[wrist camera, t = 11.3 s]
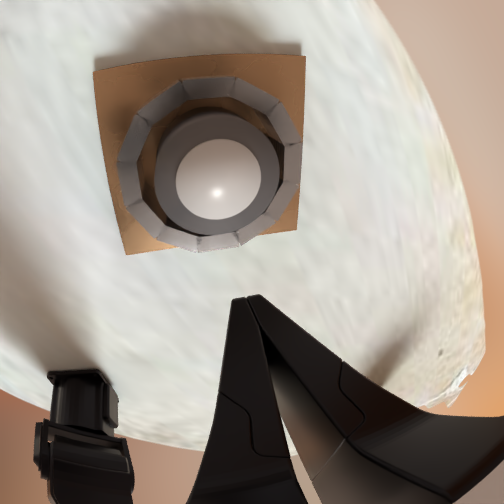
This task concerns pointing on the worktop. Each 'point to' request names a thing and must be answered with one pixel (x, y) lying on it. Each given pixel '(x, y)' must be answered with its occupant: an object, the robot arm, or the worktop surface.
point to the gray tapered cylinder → (214, 171)
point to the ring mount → (175, 104)
